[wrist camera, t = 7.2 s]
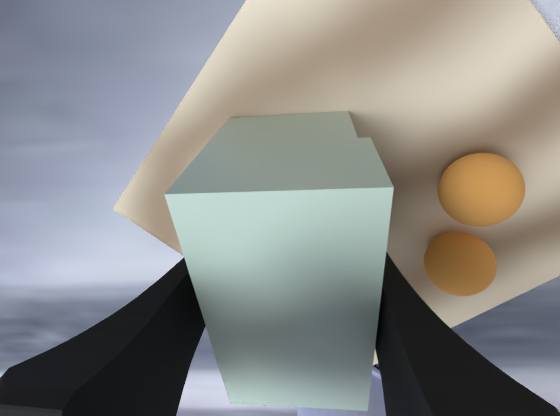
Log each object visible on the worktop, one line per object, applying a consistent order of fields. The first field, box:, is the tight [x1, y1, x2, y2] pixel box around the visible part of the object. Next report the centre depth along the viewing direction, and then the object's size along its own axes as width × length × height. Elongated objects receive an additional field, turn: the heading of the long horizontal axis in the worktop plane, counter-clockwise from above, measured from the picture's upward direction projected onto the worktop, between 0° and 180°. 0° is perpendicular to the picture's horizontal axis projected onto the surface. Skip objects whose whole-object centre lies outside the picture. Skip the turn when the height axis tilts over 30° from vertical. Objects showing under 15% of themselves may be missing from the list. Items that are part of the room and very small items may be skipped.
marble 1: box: [438, 153, 525, 227], centre depth 13 cm, size 3×3×3 cm
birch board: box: [113, 0, 560, 365], centre depth 16 cm, size 20×19×1 cm
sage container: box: [164, 111, 394, 411], centre depth 13 cm, size 10×6×7 cm, turn 5°
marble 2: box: [424, 232, 497, 296], centre depth 15 cm, size 3×3×3 cm
